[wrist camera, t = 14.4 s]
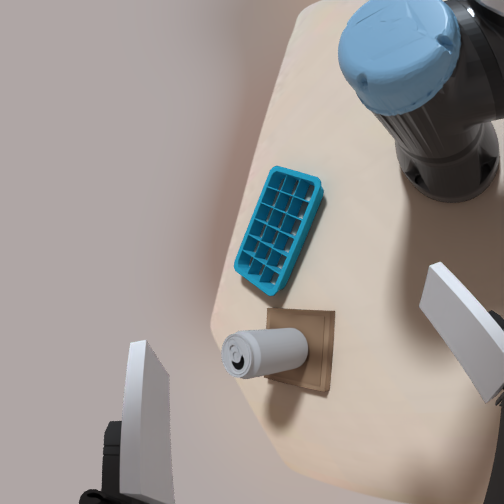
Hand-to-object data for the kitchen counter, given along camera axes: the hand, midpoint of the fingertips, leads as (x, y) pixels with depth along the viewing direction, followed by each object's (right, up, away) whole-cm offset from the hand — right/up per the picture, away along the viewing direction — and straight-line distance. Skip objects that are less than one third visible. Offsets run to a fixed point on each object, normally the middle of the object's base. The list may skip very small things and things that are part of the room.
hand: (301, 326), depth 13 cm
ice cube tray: (+4, +7, +39) cm, 40 cm away
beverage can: (+4, -11, +32) cm, 34 cm away
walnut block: (+5, -12, +33) cm, 35 cm away
